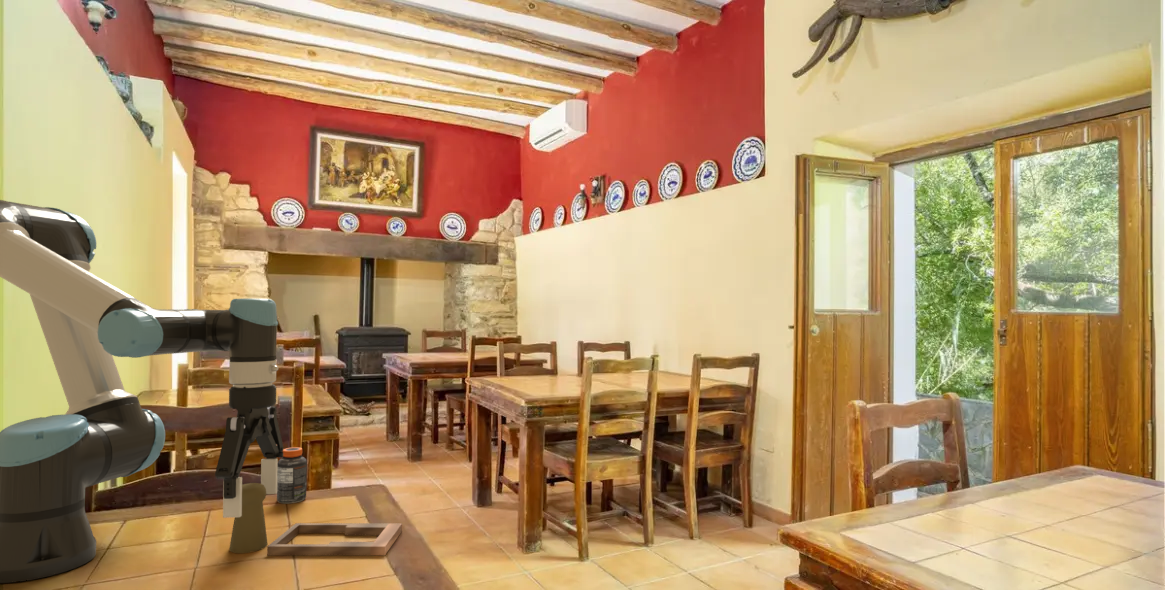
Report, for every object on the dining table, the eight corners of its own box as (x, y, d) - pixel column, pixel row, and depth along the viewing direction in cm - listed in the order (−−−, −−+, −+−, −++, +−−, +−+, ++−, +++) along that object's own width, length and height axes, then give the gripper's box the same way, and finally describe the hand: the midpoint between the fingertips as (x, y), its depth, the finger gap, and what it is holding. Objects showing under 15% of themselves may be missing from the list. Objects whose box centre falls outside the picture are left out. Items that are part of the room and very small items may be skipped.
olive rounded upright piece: (251, 554, 110) (253, 490, 110) (221, 551, 111) (222, 487, 112) (275, 542, 116) (276, 481, 116) (245, 539, 117) (247, 478, 118)
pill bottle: (301, 494, 146) (302, 444, 146) (309, 500, 141) (310, 449, 141) (273, 499, 142) (274, 447, 142) (280, 505, 137) (282, 452, 138)
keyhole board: (267, 555, 110) (267, 546, 110) (295, 531, 122) (295, 523, 122) (384, 555, 111) (385, 546, 111) (401, 531, 123) (402, 523, 123)
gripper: (239, 393, 102) (238, 527, 102) (302, 377, 127) (301, 485, 126) (191, 393, 102) (189, 528, 101) (263, 377, 127) (262, 485, 126)
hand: (251, 504), depth 114 cm, fingers open, 13 cm apart
